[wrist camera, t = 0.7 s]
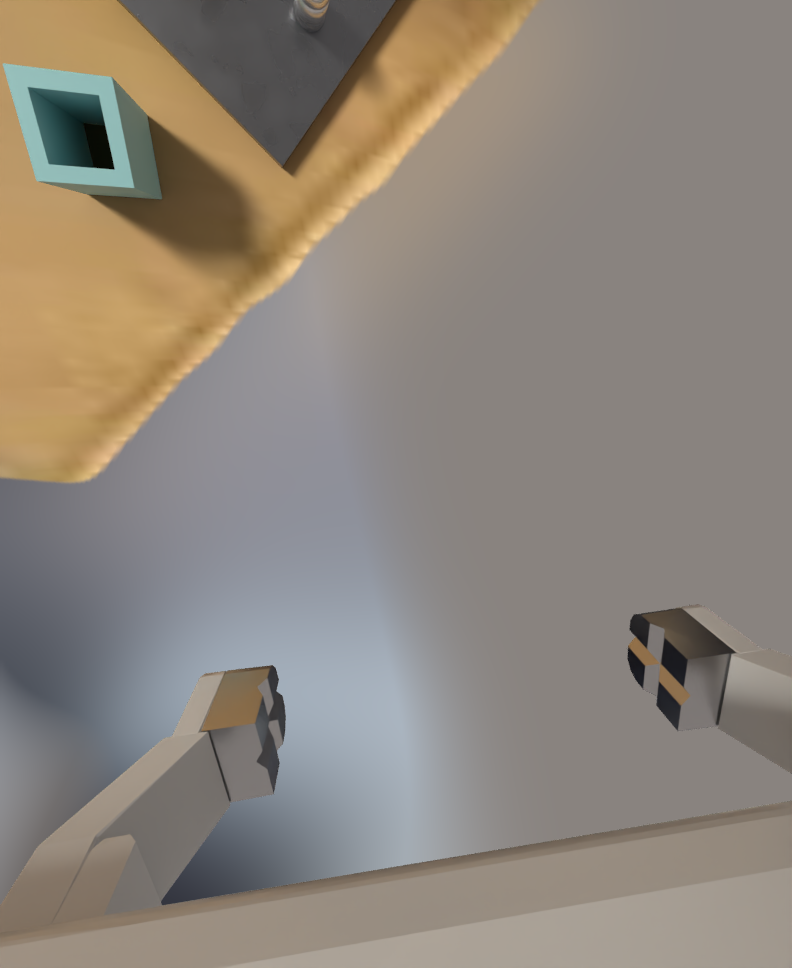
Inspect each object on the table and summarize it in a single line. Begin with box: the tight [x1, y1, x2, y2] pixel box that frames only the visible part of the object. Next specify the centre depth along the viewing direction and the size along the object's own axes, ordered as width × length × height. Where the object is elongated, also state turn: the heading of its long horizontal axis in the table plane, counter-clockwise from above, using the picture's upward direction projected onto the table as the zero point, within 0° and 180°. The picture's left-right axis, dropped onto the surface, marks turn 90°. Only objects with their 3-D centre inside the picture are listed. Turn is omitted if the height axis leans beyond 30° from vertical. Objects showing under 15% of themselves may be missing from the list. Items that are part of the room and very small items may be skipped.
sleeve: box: [3, 63, 162, 199], centre depth 33 cm, size 6×6×10 cm
